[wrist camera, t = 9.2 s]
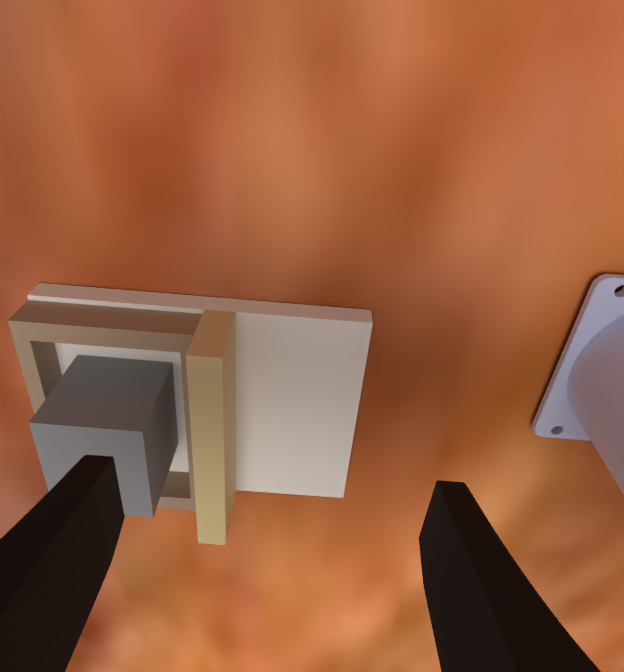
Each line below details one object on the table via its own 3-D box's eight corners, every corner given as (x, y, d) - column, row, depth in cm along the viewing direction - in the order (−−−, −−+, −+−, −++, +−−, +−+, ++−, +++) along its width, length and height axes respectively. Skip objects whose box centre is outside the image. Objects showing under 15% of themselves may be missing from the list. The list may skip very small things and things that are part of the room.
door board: (371, 309, 20) (379, 370, 17) (342, 481, 26) (344, 553, 22) (39, 282, 20) (-19, 339, 17) (82, 462, 25) (44, 532, 22)
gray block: (178, 442, 23) (153, 517, 20) (93, 436, 23) (54, 509, 20) (172, 362, 21) (142, 431, 17) (77, 354, 21) (29, 422, 17)
